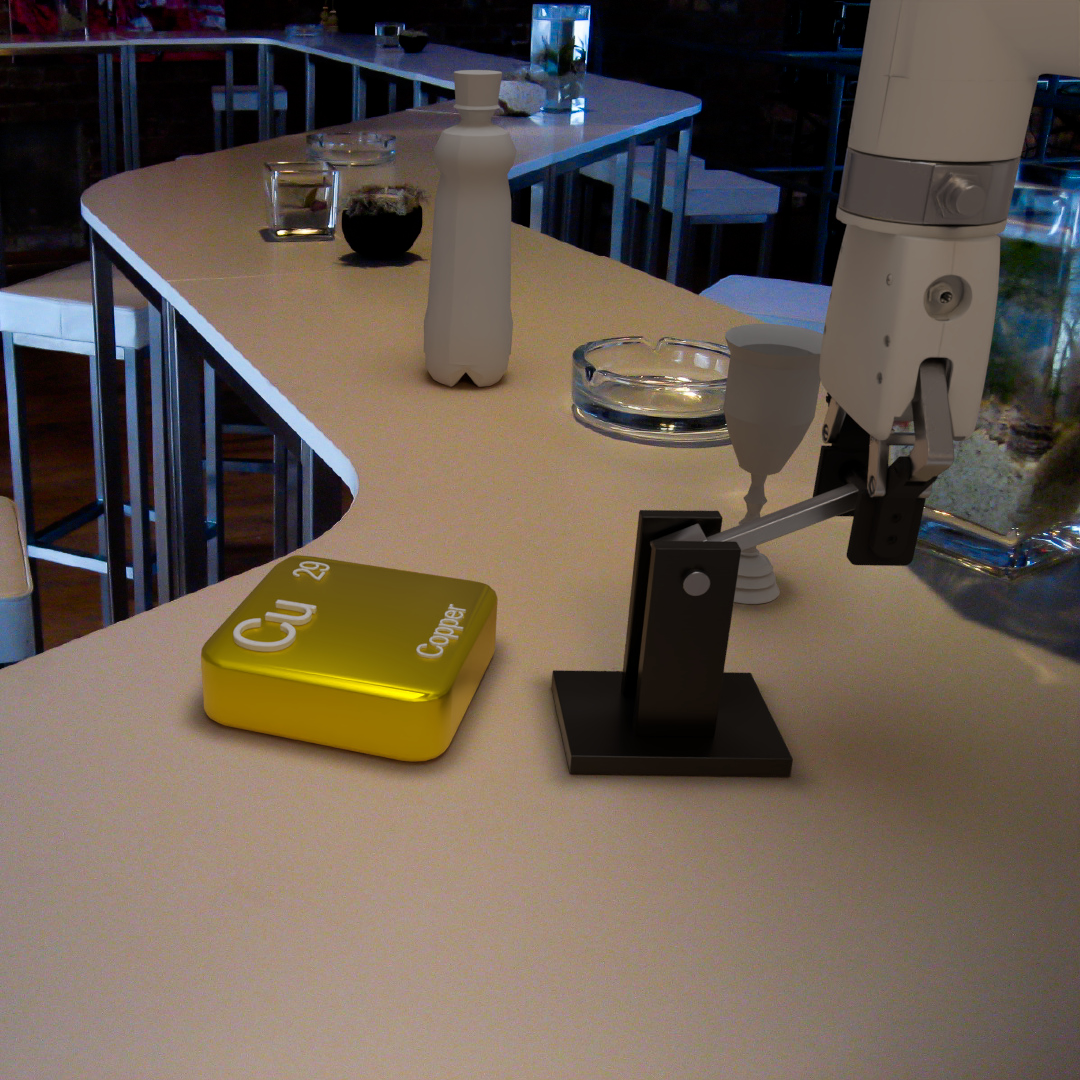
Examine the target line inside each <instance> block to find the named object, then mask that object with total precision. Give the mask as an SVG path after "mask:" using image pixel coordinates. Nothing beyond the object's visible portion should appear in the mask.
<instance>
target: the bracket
mask: <svg viewBox="0 0 1080 1080" xmlns="http://www.w3.org/2000/svg"><path fill="white" fill-rule="evenodd" d="M695 524H699V525H700V527H701V529H702V531H703V533H704V534H705V536H706V538H707V537H709V536H712V535H714V534H717V533H720V532H722V526H723V516H722V514H721V512H720V511H719V510H687V509H686V510H685V509H684V510H683V509H682V510H680V509H679V510H675V509H673V510H670V509H666V510H665V509H640V510H638V519H637V530H636V539H635V548H634V558H633V565H632V566H633V569H632V577H631V586H630V588H631V589H630V596H629V605H628V606H629V607H628V616H627V625H626V636H625V643H624V644H625V645H624V655H623V665H622V670H566V669H565V670H561V669H559V670H557V669H556V670H552V674H551V691H552V695H553V700H554V704H555V710H556V715H557V719H558V724H559V728H560V734H561V738H562V743H563V747H564V751H565V757H566V762H567V766H568V770H569V774H571V775H630V776H631V775H633V776H635V775H637V776H643V775H644V776H701V777H702V776H707V777H708V776H712V777H713V776H714V777H780V778H781V777H783V778H784V777H785V778H786V777H791V774H792V768H793V764H794V763H793V762H794V758H793V756H792V753H791V752H790V750H789V748H788V746H787V743H786V742H785V740H784V738H783V736H782V734H781V732H780V729H779V728H778V726H777V723H776V721H775V719H774V717H773V715H772V713H771V711H770V709H769V707H768V705H767V704H766V701H765V698H764V697H763V694H762V692H761V691H760V689H759V687H758V685H757V683H756V681H755V679H754V676H753V674H752V673H751V672H738V671H737V672H735V671H734V672H730V671H728V672H727V671H725V665H726V659H727V652H728V646H729V638H730V631H731V624H732V617H733V609H734V604H735V602H734V597H735V590H736V583H737V576H738V569H739V562H740V555H741V549H740V547H739V545H738V543H737V542H725V541H653V540H656V539H658V538H661V537H663V536H666V535H669V534H671V533H674V532H677V531H679V530H682V529H685V528H687V527H690V526H692V525H695ZM651 541H653V542H652V547H651V544H650V542H651Z"/></svg>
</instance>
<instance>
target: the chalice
mask: <svg viewBox="0 0 1080 1080" xmlns="http://www.w3.org/2000/svg"><path fill="white" fill-rule="evenodd" d="M822 338H823V332H822V333H821V332H819V331H816V330H813V329H809V328H806V327H801V326H795V325H789V324H779V323H750V324H741V325H738V326H735V327H731V328H729V329H728V330H727V331H725V334H724V339H725V341H726V344H727V347H728V350H729V352H730V354H729V362H728V369H727V378H726V385H725V391H724V401H723V413H724V417H725V424H726V429H727V434H728V437H729V439H730V443H731V445H732V448H733V451H734V454H735V457H736V460H737V462H738V465H739V467H740V468H741V469H742V470H744V471H745V472H747V473H749V474H750V480H751V481H750V482H751V483H750V486H749V488H748V491H747V493H746V495H744V496H743V501H744V502H745V504H746V505H745V506H746V513H745V514H744V515H745V516H744V517H743V518H742V519H740V520H739V522H738V525H741V524H744V523H746V522H749V521H752V520H754V519H757V518H760V517H761V512H762V509H763V508H764V506H765V505H766V504H767V503H768V498H767V496H766V494H765V484H766V480H767V478H768V476H772V475H776V474H779V473H780V472H781V471H782V470H783V468H784V467H785V466H786V464H787V463H788V461H789V460H790V458H791V457H792V456H793V454H794V453H795V452H796V450H797V449H798V448H799V446H800V444H801V443H802V441H803V440H804V439H805V436H806V434H807V432H808V431H809V428H810V427H811V425H812V423H813V421H814V419H815V416H816V410H817V403H818V398H819V391H820V386H821V380H820V375H819V364H820V353H821V345H822ZM780 590H781V589H780V588H779V585H778V584H777V576H776V574H775V572H774V566H773V564H772V563H771V561H770V559H769V558H768V556H766V555H765V554H764V553H762V552H760V549H758V548H757V546H754V547H752V548H749V549H746V550H743V551H741V555H740V562H739V569H738V576H737V583H736V590H735V597H734V603H738V604H745V605H760V604H765V603H770V602H772V601H774V600H776V599H777V598H778V597H779V596H780V592H781V591H780Z"/></svg>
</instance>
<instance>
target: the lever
mask: <svg viewBox="0 0 1080 1080" xmlns="http://www.w3.org/2000/svg"><path fill="white" fill-rule="evenodd" d="M838 476H839V479H840V480H841V481H842V483H843V484H844V485H845V486H842V487H839V488H837V489H834V490H831V491H829V492H826V493H823V494H821V495H818V496H815V497H813V496H812V497H813V498H812V497H810V498H808V499H805V500H802V501H800V502H797V503H794V504H792V505H789V506H786V507H784V508H781V509H779V510H776V511H773V512H771V513H768V514H765V515H763V516H762V515H761V516H760V518H757V519H754V520H752V521H749V522H746V523H744V524H741V525H739V524H738V525H736V526H733V527H731V528H728V529H726V530H723V531H722V530H721V532H720V533H717V534H714V535H712V536H709V537H707V538H706V536H705V534H704V533H703V531H702V529H701V527H700V525H699V524H695V525H692V526H690V527H687V528H685V529H682V530H679V531H677V532H674V533H671V534H669V535H666V536H663V537H661V538H658V539H656V540H653V541H725V542H737V543H738V545H739V547H740V549H741V551H743V550H746V549H749V548H752V547H754V546H756V547H757V546H759V545H762V544H765V543H768V542H770V541H774V540H775V539H778V538H780V537H784V536H786V535H790V534H792V533H795V532H797V531H800V530H802V529H805V528H808V527H810V526H813V525H816V524H818V523H821V522H824V521H827V520H829V519H831V518H832V519H833V518H835V517H838V516H837V515H840V514H843V513H846V512H848V511H851V510H854V509H855V506H856V501H857V495H858V490H859V489H866V490H867V481H868V469H867V468H866V466H865V465H864V464H863V463H862V462H860V461H858V460H849V461H847V462H845V463H844V464H843V465H842V466H841V467H840V469H839V472H838ZM653 541H651V542H650V544H651V547H652V542H653Z"/></svg>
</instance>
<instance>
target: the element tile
mask: <svg viewBox="0 0 1080 1080" xmlns="http://www.w3.org/2000/svg"><path fill="white" fill-rule="evenodd" d="M497 619H498V595H497V593H496V590H494V589H493V588H492V587H491V586H490V585H489V584H487V583H484V582H481V581H476V580H470V579H465V578H457V577H450V576H443V575H438V574H432V573H424V572H417V571H410V570H404V569H398V568H391V567H384V566H379V565H371V564H365V563H359V562H352V561H345V560H339V559H333V558H325V557H319V556H312V555H301V554H297V555H296V554H295V555H290V556H289V557H287V558H285V559H284V560H282V561H280V562H278V563H277V564H275V565H274V566H273V567H272V568H271V569H270V571H268V573H267V574H266V575H265V576H264V577H263V578H262V579H261V580H260V582H258V584H257V585H256V586H255V587H254V588H253V589H252V591H250V593H249V594H248V595H247V596H246V597H245V598H244V599H243V600H242V601H241V603H240V604H239V605H238V606H237V607H236V608H235V609H234V610H233V612H232V613H231V614H230V615H229V616H227V618H226V619H225V620H224V621H223V623H221V625H220V626H219V627H218V628H217V629H216V630H215V632H214V633H213V634H212V635H211V636H210V637H209V638H208V639H207V640H206V641H205V642H204V644H203V646H202V647H201V651H200V667H201V682H202V684H201V685H202V696H203V710H204V712H205V714H206V715H207V716H208V718H209V719H210V720H212V721H214V722H216V723H218V724H220V725H222V726H224V727H230V728H234V729H240V730H244V731H249V732H255V733H260V734H265V735H270V736H276V737H280V738H285V739H290V740H295V741H299V742H305V743H310V744H314V745H315V744H316V745H320V746H326V747H330V748H336V749H340V750H346V751H350V752H356V753H361V754H367V755H371V756H376V757H381V758H387V759H391V760H395V761H402V762H410V763H412V762H426V761H429V760H433V759H436V758H438V757H439V756H441V755H442V754H444V753H445V751H447V749H448V748H449V746H450V744H451V743H452V741H453V739H454V737H455V735H456V732H457V730H458V728H459V726H460V724H461V722H462V720H463V718H464V716H465V714H466V712H467V710H468V708H469V706H470V704H471V701H472V700H473V697H474V695H475V694H476V691H477V689H478V687H479V685H480V683H481V681H482V679H483V677H484V674H485V672H487V671H486V670H487V669H488V667H489V664H490V662H491V660H492V658H493V656H494V654H495V650H496V641H497V640H496V639H497V638H496V637H497Z"/></svg>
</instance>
